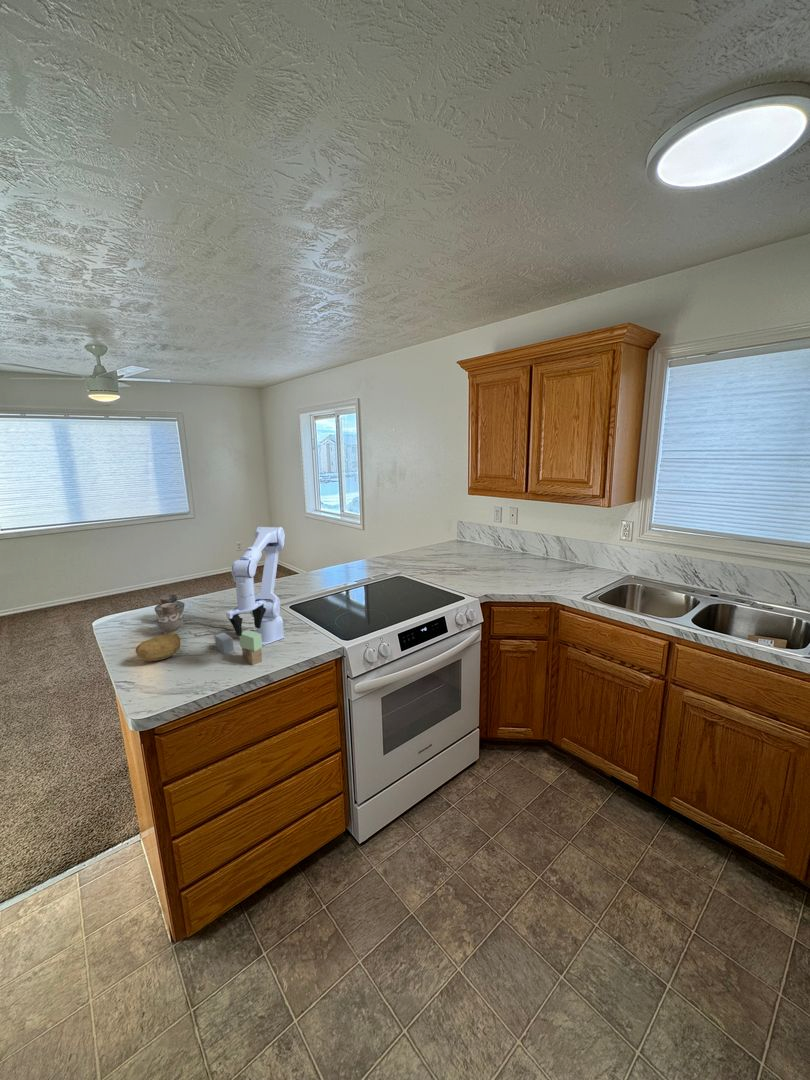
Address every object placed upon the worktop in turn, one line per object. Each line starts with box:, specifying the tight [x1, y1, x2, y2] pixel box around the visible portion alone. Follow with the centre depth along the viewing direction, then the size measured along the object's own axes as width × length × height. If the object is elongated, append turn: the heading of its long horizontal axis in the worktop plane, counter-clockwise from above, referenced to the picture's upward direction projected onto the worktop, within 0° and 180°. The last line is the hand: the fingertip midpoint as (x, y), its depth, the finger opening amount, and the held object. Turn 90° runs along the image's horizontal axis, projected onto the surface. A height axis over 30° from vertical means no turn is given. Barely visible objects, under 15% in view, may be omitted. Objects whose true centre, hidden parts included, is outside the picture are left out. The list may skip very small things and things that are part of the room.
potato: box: [135, 633, 181, 662], centre depth 152 cm, size 10×14×8 cm
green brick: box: [238, 629, 263, 652], centre depth 151 cm, size 7×4×5 cm, turn 60°
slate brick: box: [214, 632, 235, 654], centre depth 160 cm, size 7×4×5 cm, turn 47°
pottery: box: [154, 593, 185, 635], centre depth 179 cm, size 11×25×12 cm, turn 29°
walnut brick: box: [241, 647, 263, 666], centre depth 152 cm, size 7×4×5 cm, turn 47°
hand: (248, 631), depth 152 cm, fingers open, 7 cm apart
